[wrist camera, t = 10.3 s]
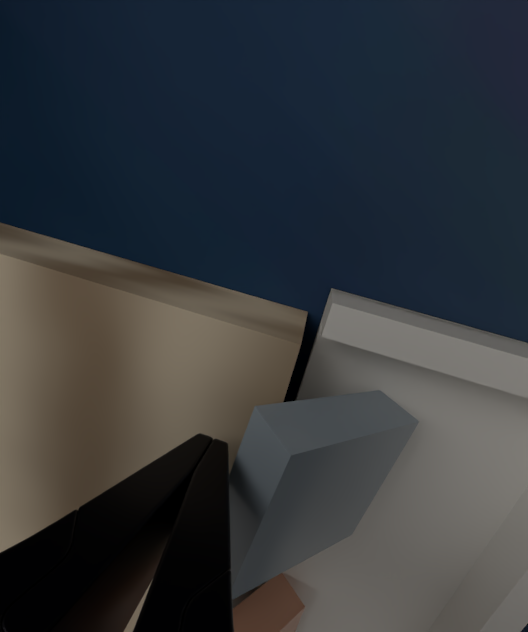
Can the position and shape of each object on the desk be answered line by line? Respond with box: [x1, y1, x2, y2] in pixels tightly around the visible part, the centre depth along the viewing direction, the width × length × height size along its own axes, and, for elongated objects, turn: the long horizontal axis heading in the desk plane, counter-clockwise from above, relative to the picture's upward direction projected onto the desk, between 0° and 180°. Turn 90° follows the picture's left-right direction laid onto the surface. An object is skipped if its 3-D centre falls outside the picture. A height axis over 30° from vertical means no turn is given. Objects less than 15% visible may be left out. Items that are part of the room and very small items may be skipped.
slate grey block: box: [229, 390, 420, 600], centre depth 9 cm, size 5×5×2 cm
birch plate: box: [0, 223, 308, 632], centre depth 13 cm, size 12×18×3 cm, turn 166°
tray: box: [232, 288, 528, 632], centre depth 12 cm, size 9×20×2 cm, turn 166°
